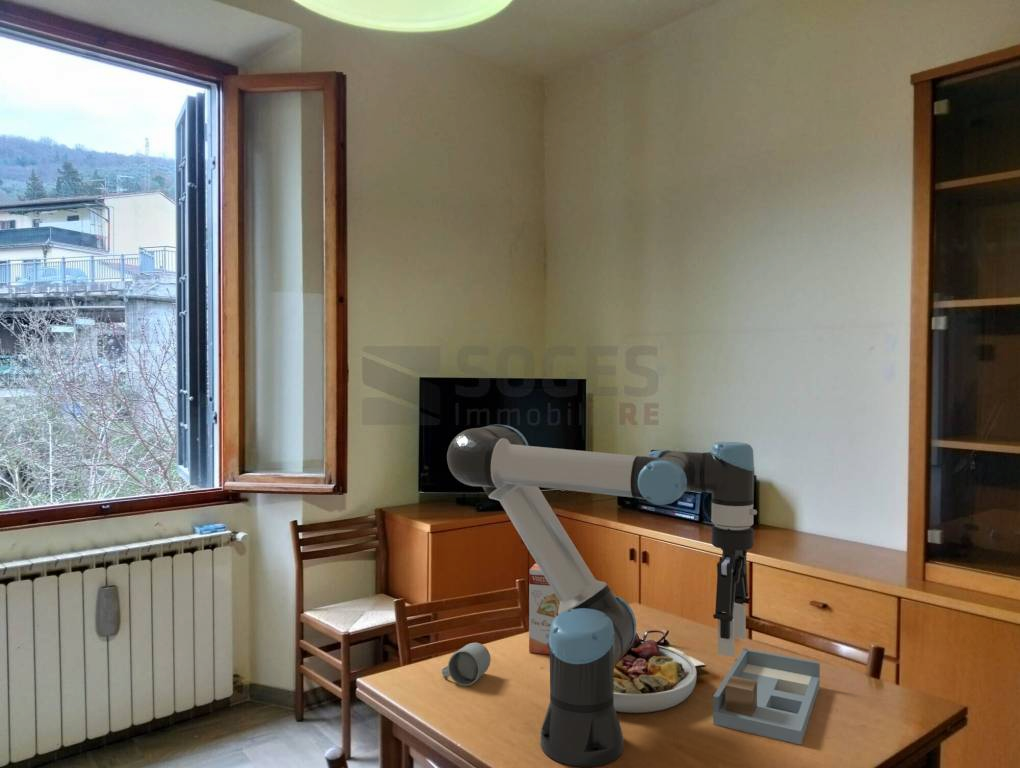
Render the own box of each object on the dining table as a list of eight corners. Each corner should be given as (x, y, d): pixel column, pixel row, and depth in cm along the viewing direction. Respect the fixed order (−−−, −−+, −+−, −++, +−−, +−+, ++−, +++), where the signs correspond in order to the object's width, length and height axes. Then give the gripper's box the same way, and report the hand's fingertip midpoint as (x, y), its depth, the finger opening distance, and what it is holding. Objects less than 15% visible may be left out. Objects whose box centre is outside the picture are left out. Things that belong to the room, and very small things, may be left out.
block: (751, 716, 138) (752, 690, 138) (725, 710, 140) (725, 685, 140) (757, 706, 142) (757, 681, 142) (731, 700, 145) (731, 675, 145)
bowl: (700, 726, 140) (700, 686, 140) (547, 712, 146) (547, 673, 146) (693, 665, 169) (693, 632, 169) (566, 655, 175) (566, 623, 175)
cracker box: (528, 653, 176) (528, 568, 175) (534, 644, 181) (534, 562, 181) (584, 660, 172) (584, 573, 171) (589, 651, 177) (589, 566, 177)
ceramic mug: (492, 673, 164) (492, 640, 164) (479, 688, 156) (478, 653, 156) (450, 668, 167) (449, 635, 167) (435, 682, 160) (434, 648, 160)
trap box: (800, 745, 132) (801, 715, 132) (713, 724, 140) (713, 696, 140) (819, 687, 156) (819, 662, 156) (743, 672, 164) (743, 648, 164)
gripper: (740, 539, 123) (740, 670, 123) (764, 517, 141) (764, 631, 142) (696, 534, 126) (696, 662, 127) (725, 513, 145) (725, 624, 145)
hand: (732, 645), depth 134 cm, fingers open, 9 cm apart
